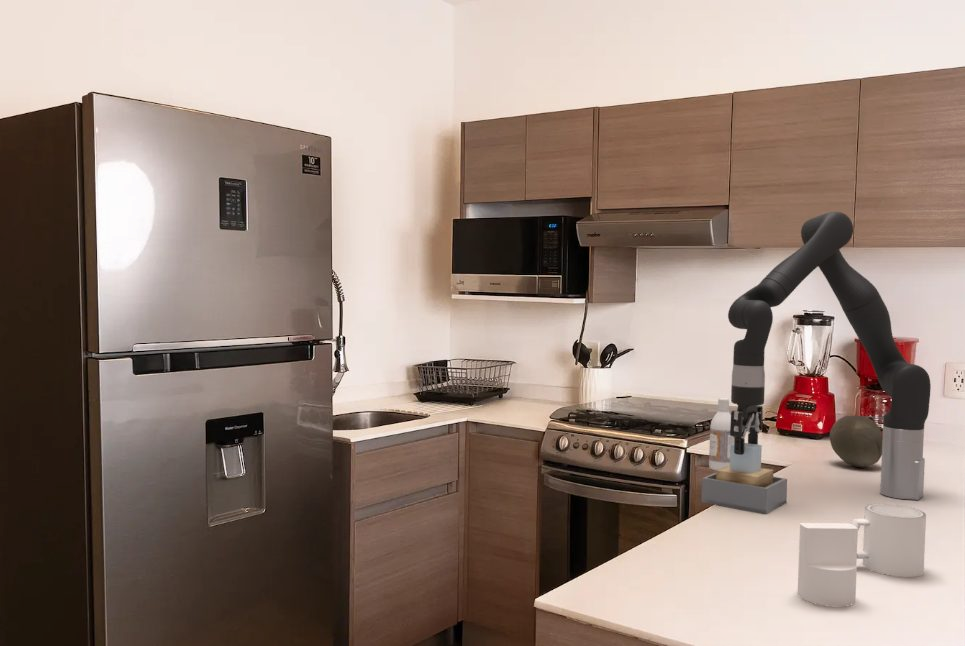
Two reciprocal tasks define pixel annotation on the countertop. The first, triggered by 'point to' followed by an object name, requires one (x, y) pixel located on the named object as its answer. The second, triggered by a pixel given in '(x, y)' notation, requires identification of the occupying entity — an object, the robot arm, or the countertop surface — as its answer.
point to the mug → (893, 540)
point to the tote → (744, 494)
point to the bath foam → (720, 437)
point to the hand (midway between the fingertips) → (746, 451)
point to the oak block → (746, 477)
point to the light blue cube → (746, 459)
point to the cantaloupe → (857, 440)
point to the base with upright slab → (828, 563)
